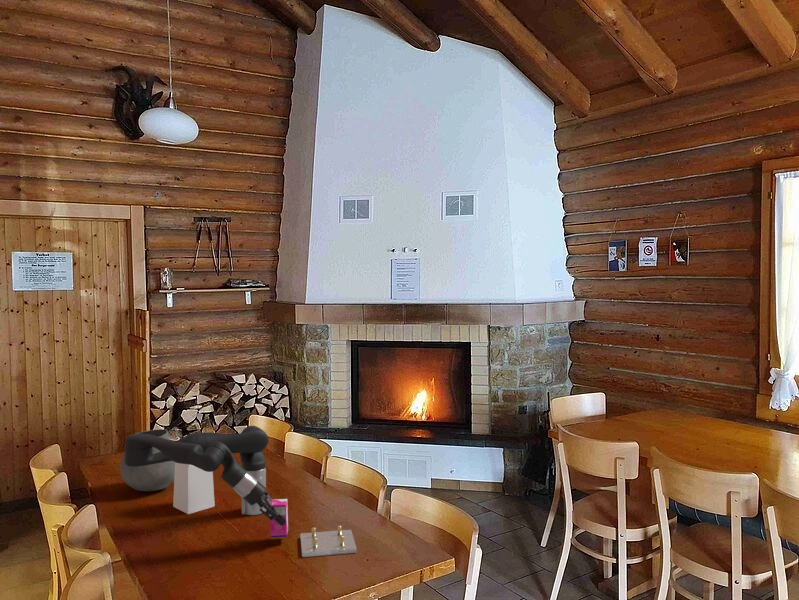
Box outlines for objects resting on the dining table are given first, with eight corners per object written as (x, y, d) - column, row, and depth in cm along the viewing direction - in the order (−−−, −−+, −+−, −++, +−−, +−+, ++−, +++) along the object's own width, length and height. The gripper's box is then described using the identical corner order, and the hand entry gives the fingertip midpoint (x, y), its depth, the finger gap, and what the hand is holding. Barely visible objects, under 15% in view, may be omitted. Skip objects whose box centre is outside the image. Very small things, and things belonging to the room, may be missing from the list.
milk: (173, 506, 250) (172, 442, 249) (199, 499, 258) (198, 437, 258) (188, 514, 242) (187, 447, 241) (214, 506, 250) (214, 442, 250)
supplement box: (271, 531, 219) (271, 498, 219) (288, 530, 220) (288, 498, 220) (269, 537, 214) (269, 504, 213) (286, 537, 214) (286, 504, 214)
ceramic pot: (136, 480, 283) (135, 425, 283) (189, 480, 283) (188, 426, 282) (109, 498, 259) (108, 439, 258) (167, 499, 258) (166, 439, 257)
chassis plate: (302, 557, 204) (301, 543, 204) (300, 537, 220) (300, 525, 220) (356, 552, 207) (356, 539, 207) (351, 533, 223) (351, 521, 223)
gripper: (242, 489, 221) (276, 520, 224) (239, 503, 207) (276, 536, 209) (257, 473, 222) (291, 504, 224) (256, 487, 208) (292, 519, 210)
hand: (284, 519), depth 217 cm, fingers closed on supplement box, 6 cm apart
